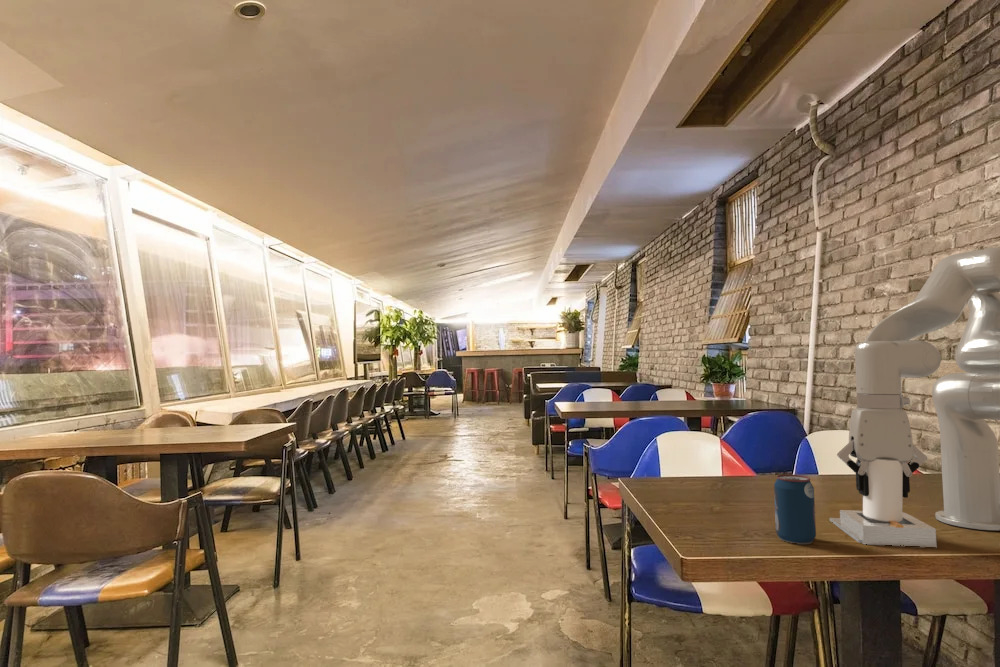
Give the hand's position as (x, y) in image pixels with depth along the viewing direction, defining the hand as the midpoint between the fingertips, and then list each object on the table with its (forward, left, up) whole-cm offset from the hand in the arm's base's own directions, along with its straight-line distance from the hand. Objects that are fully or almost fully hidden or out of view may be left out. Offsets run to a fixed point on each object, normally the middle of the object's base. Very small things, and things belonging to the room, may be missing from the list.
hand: (882, 494), depth 113 cm
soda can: (+17, +5, -8) cm, 20 cm away
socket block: (0, -2, -8) cm, 9 cm away
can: (0, 0, -5) cm, 5 cm away
